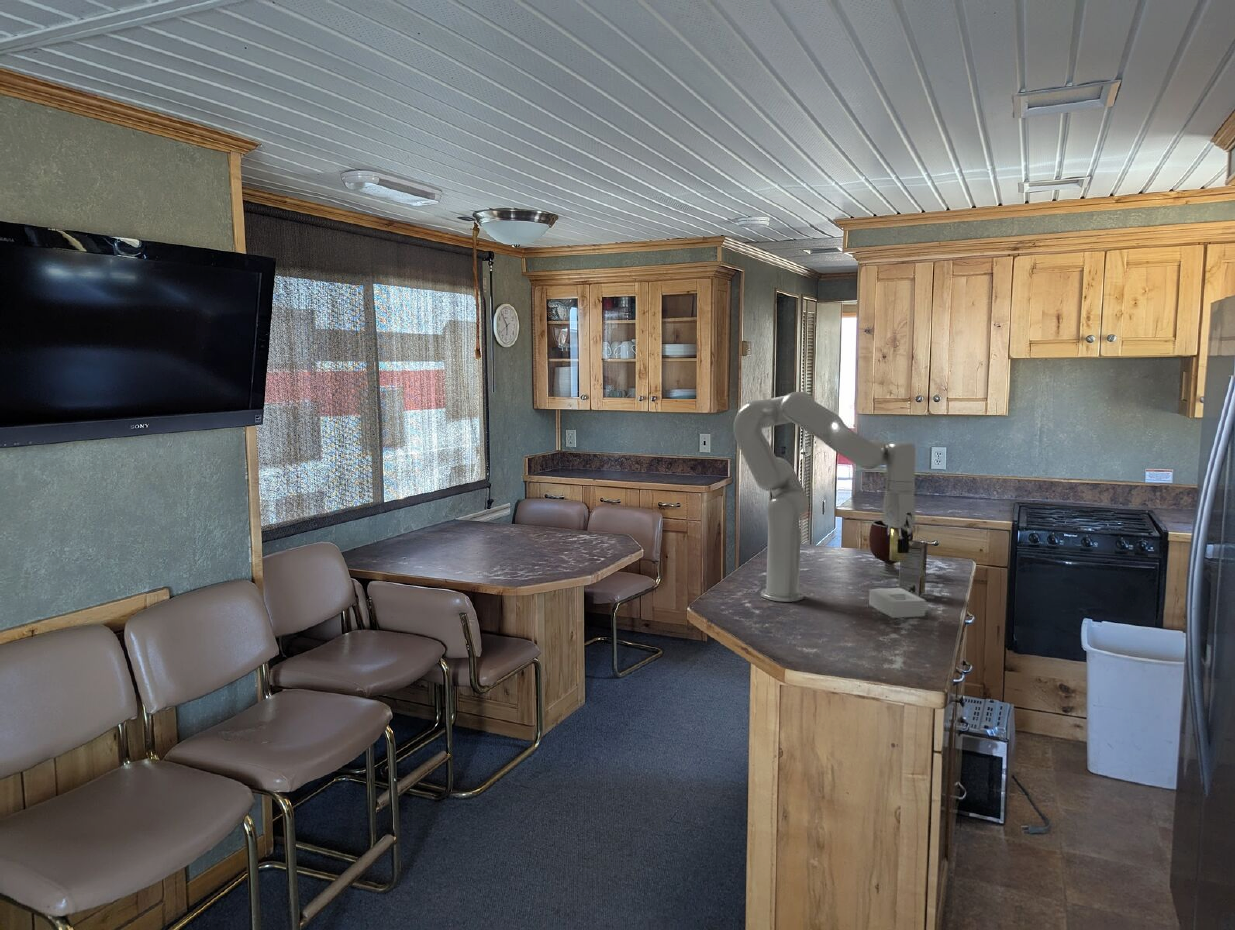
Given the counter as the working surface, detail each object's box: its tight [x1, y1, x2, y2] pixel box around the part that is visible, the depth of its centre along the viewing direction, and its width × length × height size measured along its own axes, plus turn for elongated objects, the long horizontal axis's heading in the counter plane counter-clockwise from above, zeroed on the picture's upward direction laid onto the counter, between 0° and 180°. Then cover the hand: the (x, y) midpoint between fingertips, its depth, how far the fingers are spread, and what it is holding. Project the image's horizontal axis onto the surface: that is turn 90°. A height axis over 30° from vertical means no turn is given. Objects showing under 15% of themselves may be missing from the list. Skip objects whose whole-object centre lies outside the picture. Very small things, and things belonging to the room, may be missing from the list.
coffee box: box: [898, 540, 928, 598], centre depth 252 cm, size 9×6×16 cm
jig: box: [868, 587, 927, 619], centre depth 237 cm, size 13×10×4 cm
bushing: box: [890, 527, 906, 563], centre depth 233 cm, size 4×4×9 cm
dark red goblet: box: [868, 519, 914, 579], centre depth 278 cm, size 16×14×20 cm
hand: (898, 550), depth 233 cm, fingers closed on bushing, 4 cm apart
